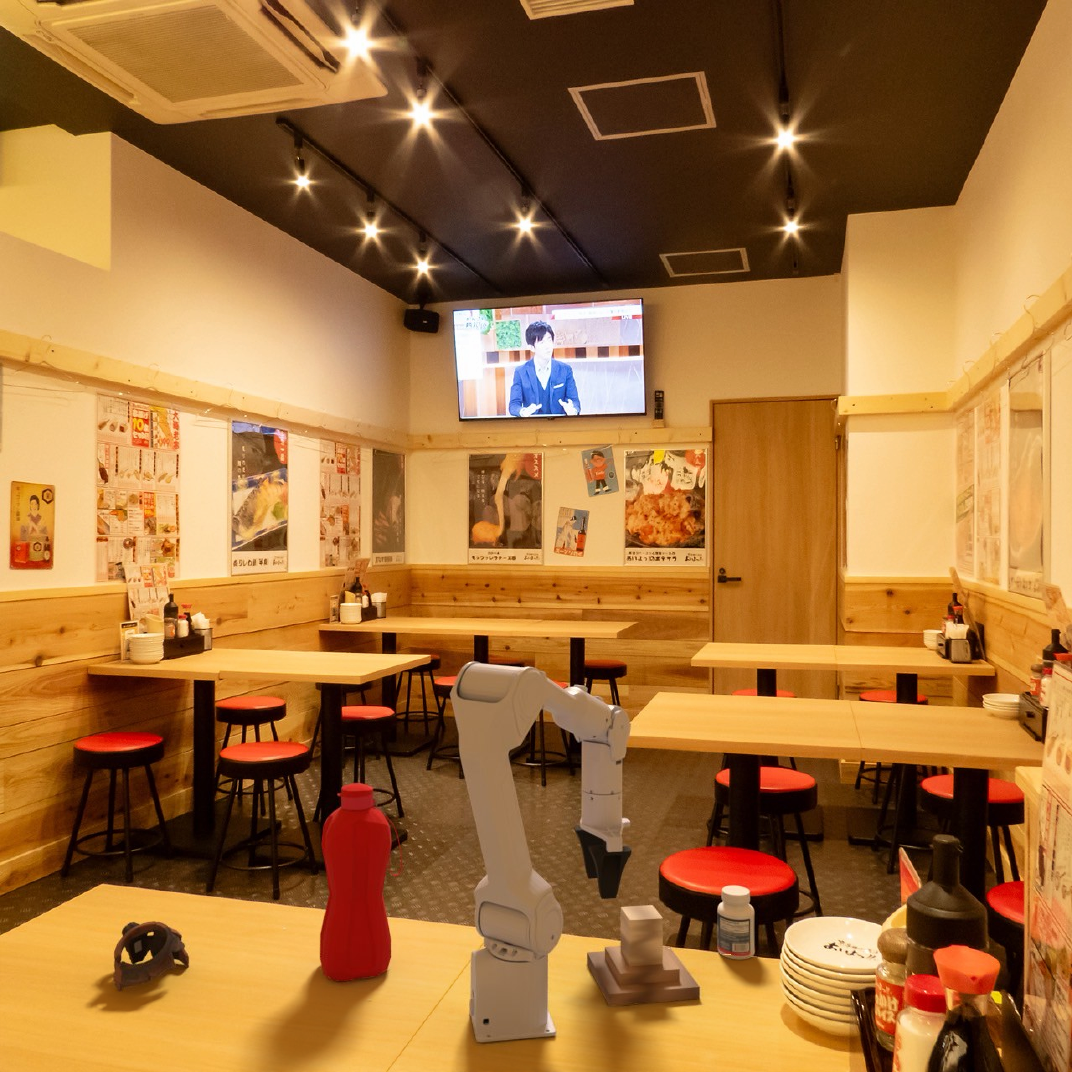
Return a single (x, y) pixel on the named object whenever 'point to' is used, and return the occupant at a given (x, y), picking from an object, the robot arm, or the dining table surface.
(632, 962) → the oak block
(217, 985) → the dining table surface
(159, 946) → the dark brown ring housing
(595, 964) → the walnut pedestal
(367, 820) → the water bottle
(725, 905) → the pill bottle
